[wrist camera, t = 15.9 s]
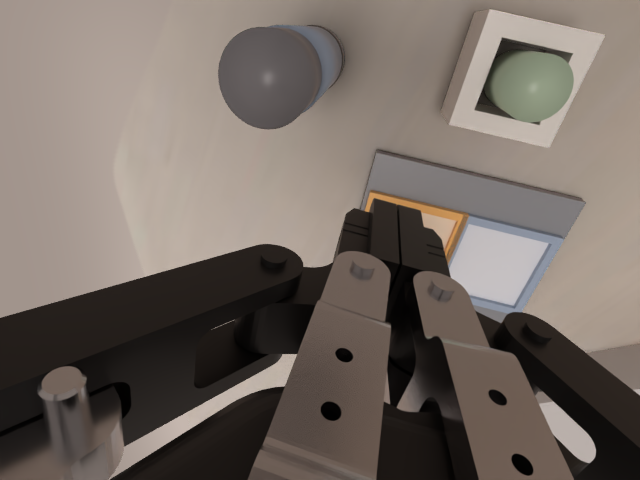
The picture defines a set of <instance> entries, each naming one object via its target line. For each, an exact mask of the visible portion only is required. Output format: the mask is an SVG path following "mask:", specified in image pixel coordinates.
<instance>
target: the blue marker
mask: <svg viewBox="0 0 640 480" xmlns="http://www.w3.org/2000/svg"><path fill="white" fill-rule="evenodd" d="M344 62H345V55H344V49H343V46H342V44H341V42H340V40H339V38H338V37H337V36H336V35H335V34H334V33H333V32H332V31H330V30H328V29H326V28H324V27H321V26H316V25H308V26H296V25H274V26H270V27H256V28H250V29H247V30H245V31H243V32H241V33H239V34H238V35H236V36H235V37H234V38H233V39H232V40H231V41H230V42H229V43H228V45H227V46H226V48H225V49H224V51H223V53H222V56H221V59H220V63H219V70H218V77H219V85H220V89H221V92H222V95H223V98H224V100H225V102H226V103H227V105H228V107H229V108H230V109H231V111H232V112H233V113H234V114H235V115H236V116H237V117H238V118H239V119H241V120H242V121H244V122H245V123H247V124H249V125H251V126H253V127H257V128H261V129H276V128H281V127H283V126H286V125H288V124H289V123H291V122H292V121H294V120H295V119H296V118H297V117H298V116H299V115H300V114H301V113H303V112H305V111H306V110H308V109H309V108H310V107H311V106H312V105H313V104H314V103H315V102H316V101H317V100H318V99H319V98H320V97H321V96H322V95H323V94H324V93H325V91H326V90H327V89H329V88H330V87H331V86H332V85H333V84H334V83H335V82H336V81H337V80H338V78H339V76H340V75H341V73H342V70H343V67H344Z"/></svg>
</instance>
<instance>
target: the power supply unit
mask: <svg viewBox="0 0 640 480" xmlns="http://www.w3.org/2000/svg"><path fill="white" fill-rule="evenodd" d="M587 354H588V355H589V356H590V357H592V358H593V359H594V360H595V361H597V362H598V363H599V364H601V365H602V366H603V367H604V368H606V369H607V370H608V371H609V372H611V373H612V374H613V375H615V376H616V377H617V378H618V379H620V380H621V381H622V382H623V383H625V384H626V385H627V386H629V387H630V388H631V389H632V390H634V391H635V392H636V393H637V394H639V395H640V344H636V345H630V346H625V347H619V348H613V349H608V350H602V351H596V352H591V353H587ZM535 397H536V399H537V401H538V403H539V405H540V408H541V410H542V412H543V414H544V416H545V418H546V420H547V423H548V425H549V427H550V429H551V431H552V433H553V435H554V436H555V437H556V438H557V439H558V440H559V441H560V442H561V443H562V444H563V445H564V446H565V447H566V448H567V449H568V450H569V451H570V452H571V453H572V454H573V455H574V456H575V457H577V458H578V459H580V460H581V461H584V462H587V463H590V462H592V461H593V459H594V458H595V456H596V448H595V445H594V442H593V441H592V439H591V437H590V436H589V435H588V434H587V433H586V432H585V431H584V430H583V429H582V428H581V427H580V426H579V425H578V424H577V423H576V422H575V421H574V420H573V419H572V418H570V417H569V416H568V415H567V414H566V413H565V412H564V411H563V410H562V409H561V408H560V407H559V406H558V405H557V404H555V403H554V402H553V401H552V400H551V399H550V398H549V397H548V396H547V395H546V394H545V393H544V392H543V391H542V390H541V389H540V391H539V392H538V393H537V394H536V396H535Z"/></svg>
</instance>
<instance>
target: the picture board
mask: <svg viewBox="0 0 640 480" xmlns="http://www.w3.org/2000/svg"><path fill="white" fill-rule="evenodd" d="M374 198H376V199H380V200H384V201H387V202H391V203H395V204H397V205H398V204H399V205H403V206H406V207H410V208H414V209H418V210H421V214H422V220H423V225H424V227H426V228H430V229H433V230H434V231H435V232H436V233H437V234H438V236H439V237H440V238H441V239H442V243H443V247H444V251H445V255H446V257H445V258H446V259H447V263H448V268H449V272H450V276H451V278H452V279H454V280H455V281H457V282H458V283H459V284H461V285H462V286H463V287H464V288H465V290H466V291H467V292H468V294H469V296H470V299H471V301H472V304H473V306H474V309H475V311H477V312H479V313H481V314H483V315H485V316H487V317H489V318H491V319H493V320H495V321H498V322H500V323H502V321H503V320H504V318H505V316H506V315H507V314H509V313H512V312H522V310H523V309H524V307H525V305H526V304H527V302H528V300H529V298H530V297H531V295H532V293H533V292H534V290H535V288H536V287H537V285H538V283H539V281H540V280H541V278H542V276H543V275H544V273H545V271H546V270H547V268H548V266H549V265H550V263H551V261H552V259H553V258H554V256H555V254H556V253H557V251H558V249H559V248H560V246H561V244H562V243H563V241H564V239H565V237H566V236H567V234H568V232H569V231H570V229H571V227H572V226H573V224H574V222H575V220H576V219H577V217H578V215H579V214H580V212H581V210H582V209H583V207H584V205H585V204H586V202H585V201H583V200H582V199H581V198H577V197H573V196H569V195H565V194H560V193H556V192H552V191H548V190H544V189H539V188H535V187H531V186H527V185H523V184H518V183H514V182H510V181H506V180H502V179H497V178H493V177H489V176H485V175H481V174H476V173H472V172H468V171H464V170H460V169H455V168H451V167H447V166H443V165H439V164H434V163H430V162H426V161H422V160H418V159H413V158H409V157H405V156H401V155H397V154H392V153H388V152H384V151H380V150H376V154H375V158H374V161H373V165H372V168H371V172H370V176H369V179H368V183H367V187H366V190H365V194H364V198H363V201H362V205H361V208H360V210H363V211H366V212H369V210H370V207H371V204H372V201H373V199H374Z"/></svg>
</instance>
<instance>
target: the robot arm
mask: <svg viewBox="0 0 640 480" xmlns="http://www.w3.org/2000/svg"><path fill="white" fill-rule="evenodd" d="M445 257H446V255H445V251H444V247H443V243H442V239H441V238H440V237H439V236H438V234H437V233H436V232H435V231H434V230H433V229H430V228H426V227H424V225H423V220H422V214H421V210H418V209H414V208H410V207H406V206H403V205H399V204H398V205H397V204H395V203H391V202H387V201H384V200H380V199H376V198H374V199H373V201H372V204H371V207H370V210H369V212H366V211H363V210H359V209H355V208H354V209H352V210H351V211H350V212H348V213H347V214H346V216H345V220H344V223H343V227H342V230H341V234H340V237H339V241H338V244H337V248H336V251H335V255H334V260H333V263H331V264H329V265H327V266H323V267H316V268H310V267H303V262H302V260H301V258H300V257H299V256H298V255H297V254H296V253H294V252H293V251H291V250H289V249H287V248H285V247H282V246H278V245H271V244H262V245H256V246H253V247H249V248H246V249H242V250H239V251H235V252H231V253H228V254H224V255H221V256H217V257H214V258H210V259H207V260H203V261H200V262H196V263H193V264H189V265H186V266H182V267H179V268H175V269H171V270H168V271H164V272H161V273H157V274H154V275H150V276H147V277H143V278H140V279H136V280H133V281H129V282H126V283H122V284H119V285H115V286H112V287H108V288H104V289H101V290H97V291H94V292H90V293H87V294H83V295H80V296H76V297H73V298H69V299H66V300H62V301H58V302H55V303H51V304H48V305H44V306H41V307H37V308H34V309H31V310H27V311H23V312H20V313H16V314H13V315H9V316H5V317H2V318H0V480H108V479H109V478H110V476H111V475H112V474H113V473H114V472H115V470H116V468H117V467H118V465H119V463H120V461H121V458H122V455H123V451H124V446H126V445H128V444H130V443H131V442H133V441H135V440H137V439H139V438H141V437H143V436H144V435H146V434H148V433H150V432H152V431H153V430H155V429H157V428H159V427H161V426H163V425H164V424H166V423H168V422H170V421H172V420H173V419H175V418H177V417H178V416H181V415H183V414H184V413H186V412H188V411H190V410H192V409H193V408H195V407H197V406H199V405H201V404H203V403H204V402H206V401H208V400H210V399H212V398H213V397H215V396H217V395H219V394H221V393H223V392H224V391H226V390H228V389H230V388H232V387H233V386H235V385H237V384H239V383H241V382H243V381H244V380H246V379H248V378H250V377H252V376H253V375H255V374H257V373H259V372H261V371H263V370H264V369H266V368H268V367H270V366H272V365H273V364H275V363H276V362H277V361H278V360H279V359H280V358H281V356H282V354H297V356H296V359H295V362H294V364H293V367H292V369H291V372H290V375H289V377H288V380H287V383H286V385H285V387H275V388H269V389H264V390H261V391H258V392H255V393H251V394H249V395H247V396H245V397H243V398H240V399H238V400H236V401H235V402H233V403H231V404H229V405H228V406H226V407H225V408H223V409H222V410H220V411H218V412H217V413H215V414H214V415H212V416H210V417H209V418H207V419H206V420H204V421H202V422H201V423H199V424H198V425H196V426H194V427H193V428H191V429H190V430H188V431H187V432H185V433H183V434H182V435H180V436H179V437H177V438H175V439H174V440H172V441H171V442H169V443H167V444H166V445H164V446H163V447H161V448H160V449H158V450H157V451H155V452H153V453H152V454H150V455H148V456H147V457H145V458H144V459H142V460H140V461H139V462H137V463H136V464H134V465H132V466H131V467H129V468H128V469H126V470H125V471H123V472H121V473H120V474H118V475H117V476H115V477H113V478H112V479H110V480H640V395H639V394H637V393H636V392H635V391H634V390H632V389H631V388H630V387H629V386H627V385H626V384H625V383H623V382H622V381H621V380H620V379H618V378H617V377H616V376H615V375H613V374H612V373H611V372H609V371H608V370H607V369H606V368H604V367H603V366H602V365H601V364H599V363H598V362H597V361H595V360H594V359H593V358H592V357H590V356H589V355H588V354H587V353H585V352H584V351H583V350H581V349H580V348H579V347H578V346H576V345H575V344H574V343H573V342H571V341H570V340H569V339H567V338H566V337H565V336H564V335H562V334H561V333H560V332H559V331H557V330H556V329H555V328H553V327H552V326H551V325H549V324H548V323H546V322H545V321H543V320H541V319H539V318H537V317H535V316H533V315H530V314H526V313H522V312H512V313H509V314H507V315H506V316H505V318H504V320H503V321H502V323H500V322H498V321H495V320H493V319H491V318H489V317H487V316H485V315H483V314H481V313H479V312H477V311H475V309H474V306H473V304H472V301H471V299H470V296H469V294H468V292H467V291H466V290H465V288H464V287H463V286H462V285H461V284H459V283H458V282H457V281H455V280H454V279H452V278H451V276H450V272H449V268H448V263H447V259H446V258H445ZM232 320H234V321H232ZM230 321H231V322H230ZM227 322H229V323H227ZM225 323H227V324H225ZM223 324H224V325H223ZM220 325H222V326H220ZM218 326H219V327H218ZM215 327H217V328H215ZM213 328H215V329H213ZM211 329H212V330H211ZM540 389H541V390H542V391H543V392H544V393H545V394H546V395H547V396H548V397H549V398H550V399H551V400H552V401H553V402H554V403H555V404H557V405H558V406H559V407H560V408H561V409H562V410H563V411H564V412H565V413H566V414H567V415H568V416H569V417H570V418H572V419H573V420H574V421H575V422H576V423H577V424H578V425H579V426H580V427H581V428H582V429H583V430H584V431H585V432H586V433H587V434H588V435H589V436H590V437H591V439H592V441H593V442H594V445H595V448H596V456H595V458H594V459H593V461H592V462H590V463H587V462H584V461H581V460H580V459H578V458H577V457H575V456H574V455H573V454H572V453H571V452H570V451H569V450H568V449H567V448H566V447H565V446H564V445H563V444H562V443H561V442H560V441H559V440H558V439H557V438H556V437H555V436H554V435H553V433H552V431H551V429H550V427H549V425H548V423H547V420H546V418H545V416H544V414H543V412H542V410H541V408H540V405H539V403H538V401H537V399H536V397H535V396H536V394H537V393H538V392H539V391H540Z"/></svg>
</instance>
